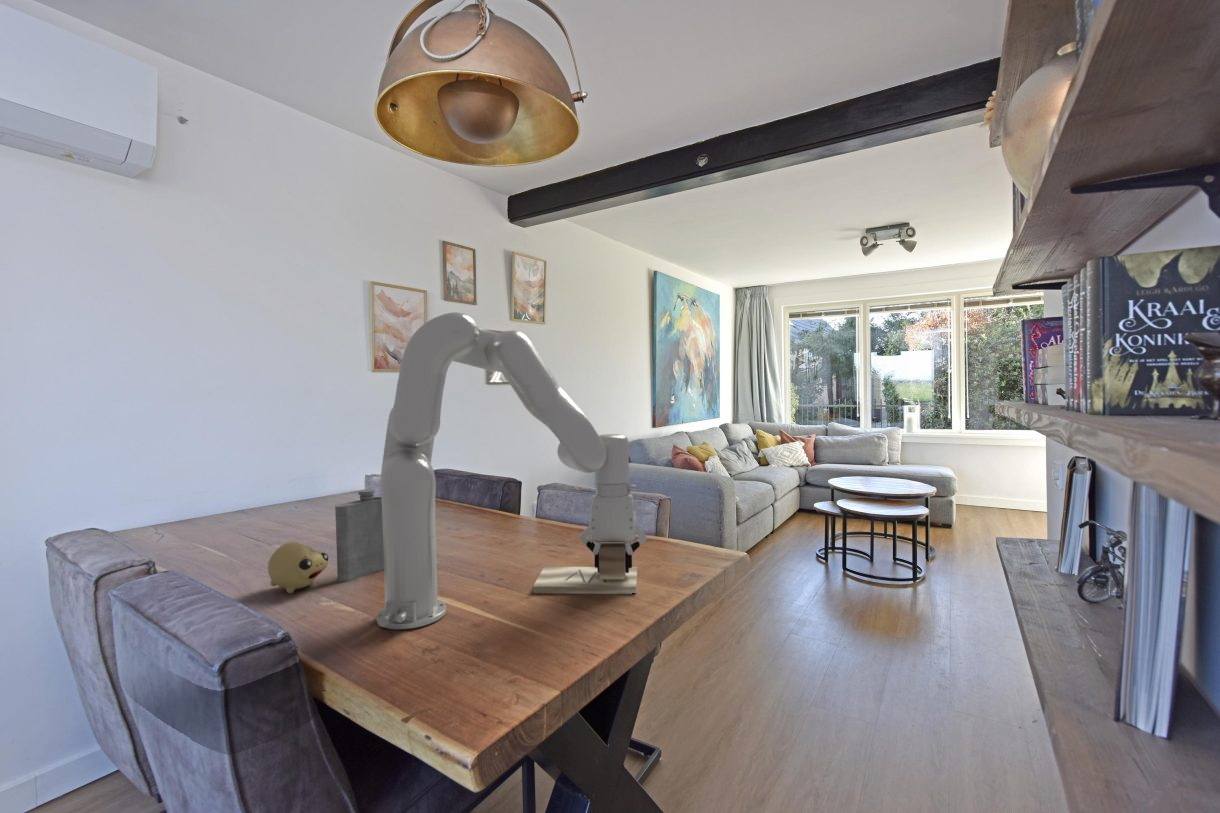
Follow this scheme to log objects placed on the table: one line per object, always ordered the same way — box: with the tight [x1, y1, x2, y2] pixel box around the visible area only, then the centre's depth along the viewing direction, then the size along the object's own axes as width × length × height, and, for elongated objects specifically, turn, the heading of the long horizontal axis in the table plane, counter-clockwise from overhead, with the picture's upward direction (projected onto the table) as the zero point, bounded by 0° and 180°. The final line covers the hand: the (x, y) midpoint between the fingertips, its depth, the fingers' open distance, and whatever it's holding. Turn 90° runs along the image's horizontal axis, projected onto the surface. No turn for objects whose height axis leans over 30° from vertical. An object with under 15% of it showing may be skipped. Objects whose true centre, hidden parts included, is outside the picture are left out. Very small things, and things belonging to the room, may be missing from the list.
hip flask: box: [335, 488, 384, 583], centre depth 133 cm, size 16×4×20 cm, turn 145°
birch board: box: [532, 566, 638, 595], centre depth 123 cm, size 13×22×2 cm, turn 86°
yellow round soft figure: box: [267, 540, 329, 594], centre depth 122 cm, size 10×12×11 cm
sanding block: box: [599, 542, 626, 579], centre depth 122 cm, size 10×6×6 cm, turn 176°
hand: (613, 570), depth 122 cm, fingers closed on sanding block, 5 cm apart
